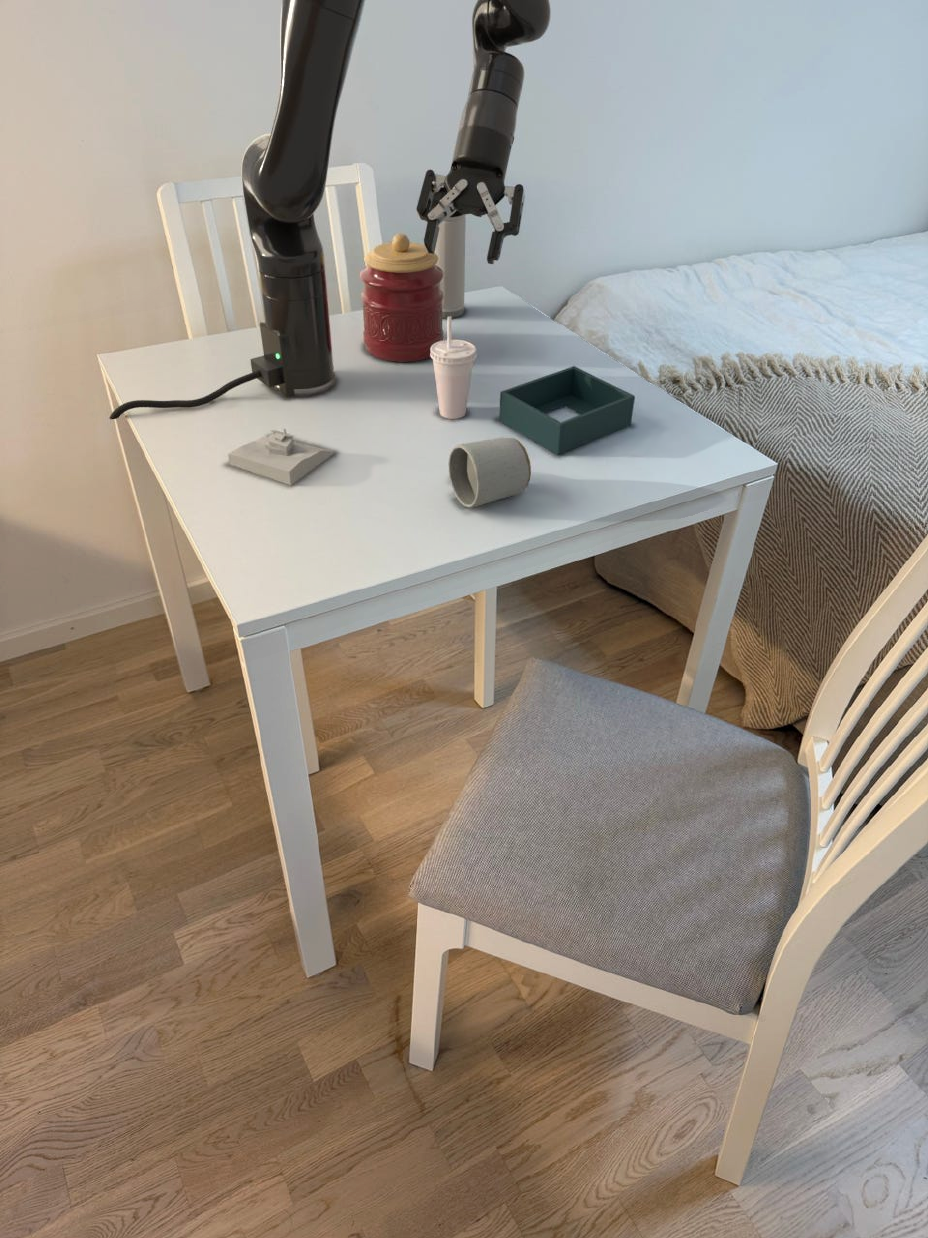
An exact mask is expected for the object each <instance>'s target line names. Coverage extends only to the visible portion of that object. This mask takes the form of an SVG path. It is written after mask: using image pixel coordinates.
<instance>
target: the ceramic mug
mask: <svg viewBox="0 0 928 1238" xmlns="http://www.w3.org/2000/svg"><path fill="white" fill-rule="evenodd" d="M448 475H449V480H450V483H451V488H452V491H453V493H454V495H455V497H456V499H457V500H458V501H459V503H460V504H461V505H463V506H464V507H465V508H469V509H470V508H476V507H478V506H482V505H486V504H490V503H493V502H496V501H500V500H503V499H507V498H510V497H514V496H517V495H519V494H521V493H523V492H524V491H525V490H526V489H527V488H528V486H529V484H530V481H531V476H532V466H531V460H530V457H529V454H528V452H527V449H526V448H525V446H524V444H522V442H520V440H518V439H516V438H514V437H495V438H490V439H485V440H478V441H474V442H466V443H459V444H457V445H455V446H454V447H452V449H451V451H450V453H449V457H448Z"/></svg>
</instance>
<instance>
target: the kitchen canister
mask: <svg viewBox="0 0 928 1238" xmlns="http://www.w3.org/2000/svg"><path fill="white" fill-rule="evenodd" d="M363 258H364V263H365V264H366V265H365V266H364V267H363V268H362V269H361V271H360V273H359V278H360V280H361V281H362V282H363V291H362V292H361V294H360V296H361V297H360V298H361V301H362V314H363V332H362V333H363V342H364V344H365V349H366V351H367V352H368V353H369V354H370V355H372V356H373V357H375V358H378V359H381V360H384V361H390V362H401V363H402V362H403V363H405V362H418V361H422V360H426V359H429V358H431V356H430V353H431V349H430V348H431V346H432V345H433V344H435V343H436V342H439V341H443V340H444V329H443V318H442V300H443V297H444V295H443V292H442V291H441V290H440V281H441V280H442V279H443V275H444V274H443V271H442V270H441V268H439V267H438V266H437V265H436V263H437V262H438V256H437V255H436V254H435V253H434V254H432V253H428V250H427V248H426V247H425V245H424V244H421V243H419V242H412V241H410V239H409V237H408V236H407V235H406V234H404V233H397V234H395V235H394V236H393V238H392V241H389V242H385V243H380V244H378V245H377V246H375V247H374V248H373V249H372V250H370V251H369V252H368V253H366V254H365V256H364V257H363Z"/></svg>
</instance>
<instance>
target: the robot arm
mask: <svg viewBox="0 0 928 1238" xmlns="http://www.w3.org/2000/svg"><path fill="white" fill-rule="evenodd" d="M281 1H282V2H281V9H280V19H279V21H280V22H279V55H280V56H279V57H280V59H279V61H280V81H279V82H280V83H279V84H280V85H279V86H280V87H279V95H278V101H277V107H276V111H275V115H274V118H273V124H272V126H271V130H270V133H266V134H262V135H260V136H258V137H257V138H255V139H253V140H252V141H251V143H250V144H249V145H248V146H247V148H246V150H245V152H244V154H243V157H242V161H241V167H240V168H241V170H240V171H241V175H240V176H241V185H242V194H243V200H244V206H245V214H246V218H247V224H248V225H247V227H248V232H249V237H250V241H251V245H252V248H253V251H254V254H255V259H256V265H257V272H258V279H259V286H260V294H261V295H260V296H261V301H262V302H261V303H262V311H263V318H264V320H262V321H260V322H259V329H260V338H261V345H262V352H263V353H262V354H263V355H260V356H257V357H253V358H250V367H251V372H250V373H247V374H244V375H242V376H239V377H238V378H235V379H233V380H231V381H229V382H227V383H226V384H223V385H222V386H221V387H220V388H218V389H216V390H215V391H213V392H211V393H209V394H207V395H205V396H203V397H200V398H199V397H198V398H196V399H188V400H187V399H185V400H183V399H181V400H180V399H176V400H175V399H174V400H151V399H136V400H131V401H127V402H125V403H122V404H121V405H119V406H118V407H116V408H115V409H114V410H113V411H112V413H110V416H109V420H116V419H119V418H120V416H122V414H124V413H126V412H127V411H129V410H132V409H138V408H153V409H172V408H173V409H174V408H186V409H187V408H189V409H190V408H196V407H201V406H205V405H206V404H207V405H208V404H210V402H212V401H215V400H216V399H218V398H220V397H221V396H223V395H225V394H226V393H228V392H229V391H231V390H232V389H234V388H236V387H238V386H240V385H244V384H246V383H249V382H251V381H254V380H256V379H257V380H258V381H260V382H261V383H262V384H263V385H265V386H267V388H269V389H271V388H273V389H274V390H275V391H277V392H279V393H280V394H281V395H283V396H284V397H286V398H292V397H306V396H308V397H309V396H315V395H318V394H322V393H325V392H327V391H329V390H331V389H332V388H333V387H334V386H335V384H336V374H335V367H334V357H333V345H332V333H331V323H330V322H331V320H330V310H329V309H330V307H329V297H328V285H327V272H326V262H325V250H324V246H323V243H322V241H321V238H320V236H319V233H318V229H317V226H316V221H315V214H314V213H315V212H316V211H317V209H318V208H319V207H320V204H321V202H322V200H323V197H324V194H325V189H326V186H327V185H326V184H327V178H328V170H329V163H330V156H331V150H332V149H331V148H332V142H333V134H334V129H335V123H336V117H337V113H338V109H339V105H340V100H341V97H342V94H343V90H344V87H345V82H346V79H347V75H348V70H349V66H350V63H351V58H352V54H353V49H354V46H355V42H356V38H357V35H358V32H359V28H360V24H361V20H362V16H363V13H364V9H365V3H366V0H281ZM551 13H552V12H551V3H550V0H476V2H475V5H474V7H473V10H472V16H471V29H472V57H473V62H472V63H473V70H472V74H471V75H472V76H471V80H470V84H469V89H468V94H467V98H466V102H465V105H464V107H463V110H462V114H461V118H460V121H459V127H458V133H457V136H456V142H455V146H454V150H453V156H452V160H451V164H450V169H449V172H448V173H447V174H446V176H445V175H440V174H436V173H435V171H434V170H433V169H427V170H426V172H425V175H424V178H423V182H422V186H421V190H420V194H419V198H418V200H417V204H416V208H415V209H416V213H417V215H418V216H419V219H420V220H422V221H424V222H426V226H425V227H426V228H425V233H424V238H423V245H424V246H425V247H426V248H427V250H428V253H432V254H434V252H435V248H436V243H437V238H438V233H439V229H440V228H439V226H438V225H440V224H441V223H442V222H443V221H444V220H445V219H446V218H447V217H450V216H451V215H452V214H453V213H455V212H456V211H458V212H459V213H460V214H466V215H472V216H475V217H478V218H482V217H483V216H487V218H488V220H489V221H490V224H491V226H492V227H493V230H494V231H492V232H491V237H490V241H489V246H488V250H487V255H486V261H487V264H489V265H494V264H495V261H498V260H500V257H501V252H502V249H503V244H504V240H505V238H506V237H509V236H512V237H513V236H514V237H517V236H519V234H520V231H521V224H522V223H521V221H522V216H523V211H524V210H523V209H524V204H525V197H526V195H525V189H524V185H523V184H521V183H517V184H516V185H515V186H508V185H505V179H506V175H507V170H508V166H509V161H510V156H511V152H512V148H513V144H514V141H515V134H516V127H517V117H518V110H519V106H520V101H521V96H522V92H523V85H524V80H525V68H524V64H523V63H522V61H521V60H520V59H519V57H516V56H515V55H513V54H511V53H509V52H507V48H511V47H516V46H520V45H525V44H529V43H532V42H535V41H538V40H540V39H541V38H542V37H543V36H544V35H545V34H546V32H548V31H547V30H548V29H549V25H550V22H551ZM444 186H445V187H446V189H447V192H448V193H447V194H446V195H445V196H444V197H443V198H442V199H441V200H440V201H439V204H438V205H437V206H436V207H435V208H434V209H432V210H430V208H431V204H432V200H433V197H434V193H435V192H438V191H439V190H440V188H441V187H444ZM505 197H506V198H507V200H508V204H509V205H511V209H510V215H509V221H507V222H503V221H502V218H501V216H500V214H499V212H498V209H497V207H496V206H497V205H498V204H499V203H500V202H501V201H502V200H503V199H504V198H505Z"/></svg>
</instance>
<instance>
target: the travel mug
mask: <svg viewBox="0 0 928 1238" xmlns="http://www.w3.org/2000/svg"><path fill="white" fill-rule="evenodd" d="M447 193H448V192H447V189H446V187H445V186H442V187H441V188H440V190H439V191H438V192H435V193H434V197H433V200H432V204H431V208H430V210H432V209H434V208H435V207H436V206H437V205H438V204H439V201H440V200H441V199H442V198H443V197H444V196H445V195H446V194H447ZM466 216H467V214H460V213H459V212H458V211H456V212H455V213H453V214H452V215H451V216H450V217H447V218H446V219H445V220H444V221H443V222H442V223H441V224H440V225H438V226H439V228H440V229H439V233H438V238H437V243H436V248H435V252H434V253H435V254H436V255H437V256H438V262H437V263H436V265H437V266H438V267H439V268H441V270H442V271H443V274H444V275H443V279H442V280H441V281H440V290H441V291H442V292H443V295H444V297H443V300H442V319H447V317H449V316H450V317H452V319H454V318H457V317H460V316H462V315H463V314H464V312H465V283H466V282H465V280H466V279H465V277H466V275H465V274H466V222H467V221H466V219H467V217H466Z"/></svg>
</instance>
